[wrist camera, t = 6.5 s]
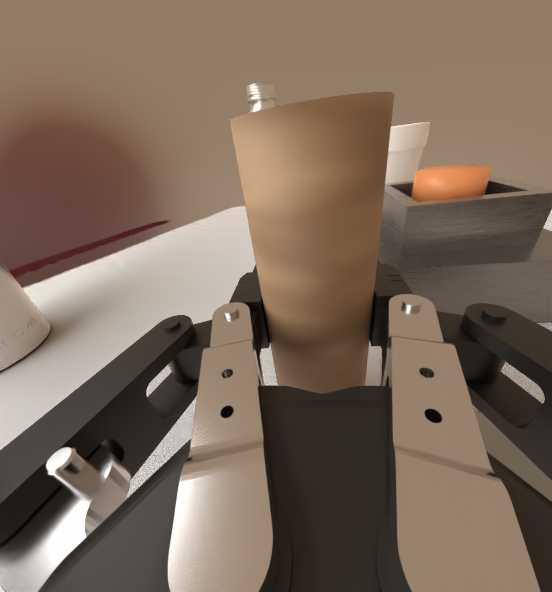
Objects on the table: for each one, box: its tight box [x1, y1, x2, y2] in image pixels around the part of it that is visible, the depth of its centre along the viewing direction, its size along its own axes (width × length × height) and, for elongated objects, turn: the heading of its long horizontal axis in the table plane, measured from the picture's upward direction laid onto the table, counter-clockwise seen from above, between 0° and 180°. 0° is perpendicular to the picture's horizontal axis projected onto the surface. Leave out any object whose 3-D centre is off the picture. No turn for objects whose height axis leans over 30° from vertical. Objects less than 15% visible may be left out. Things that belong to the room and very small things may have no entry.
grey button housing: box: [378, 176, 552, 322], centre depth 22 cm, size 14×14×8 cm
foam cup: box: [385, 122, 430, 184], centre depth 35 cm, size 10×9×13 cm
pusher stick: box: [230, 92, 394, 394], centre depth 10 cm, size 4×4×14 cm
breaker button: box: [411, 164, 492, 202], centre depth 20 cm, size 5×5×2 cm
